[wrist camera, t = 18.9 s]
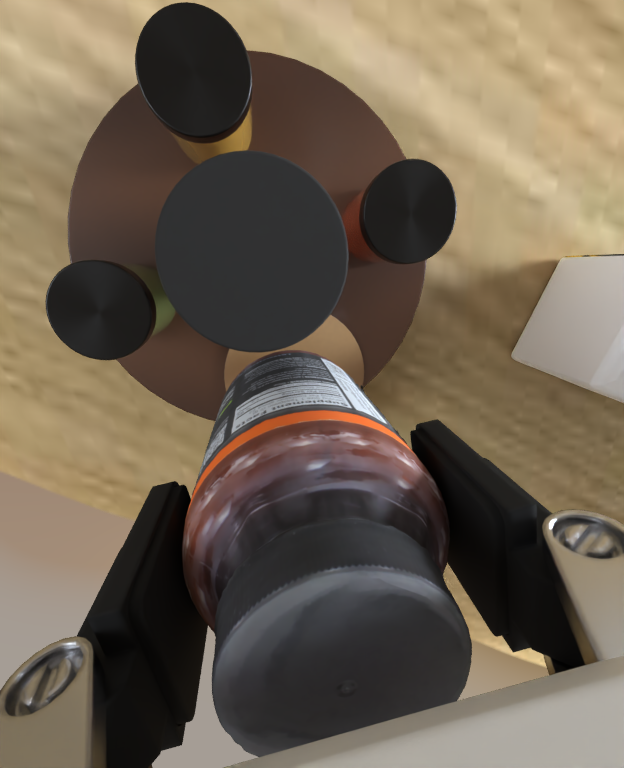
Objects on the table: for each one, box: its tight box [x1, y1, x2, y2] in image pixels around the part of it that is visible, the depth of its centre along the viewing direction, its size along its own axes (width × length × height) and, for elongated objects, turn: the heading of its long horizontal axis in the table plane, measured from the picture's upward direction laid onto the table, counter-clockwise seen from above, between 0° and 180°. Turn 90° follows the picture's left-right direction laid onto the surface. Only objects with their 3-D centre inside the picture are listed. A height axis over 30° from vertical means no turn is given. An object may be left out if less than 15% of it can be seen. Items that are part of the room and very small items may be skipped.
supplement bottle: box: [182, 350, 472, 757], centre depth 11 cm, size 6×6×11 cm
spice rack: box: [46, 2, 457, 421], centre depth 15 cm, size 19×18×12 cm
